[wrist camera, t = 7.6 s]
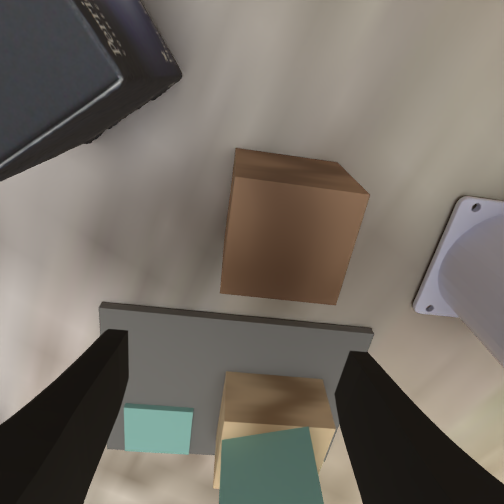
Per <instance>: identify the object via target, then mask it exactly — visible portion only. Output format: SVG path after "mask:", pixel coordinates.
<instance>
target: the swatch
mask: <svg viewBox="0 0 504 504" xmlns="http://www.w3.org/2000/svg"><path fill="white" fill-rule="evenodd" d="M193 409H194V408H187V407H173V406H159V405H145V404H131V403H125V406H124V434H125V451H135V452H153V453H170V454H187V455H189V447H190V438H191V428H192V419H193Z"/></svg>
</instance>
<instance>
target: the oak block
mask: <svg viewBox="0 0 504 504" xmlns="http://www.w3.org/2000/svg"><path fill="white" fill-rule="evenodd" d="M307 426H309V431H310V436H311V441H312V446H313V451H314V456H315V461H316V466H317V472H318V474H319V472H320V469H321V466H322V464H323V461H324V459H325V456H326V453H327V451H328V448H329V446H330V443H331V440H332V438H333V435H334V433H335V430H336V427H335V424H334V420H333V416H332V413H331V409H330V405H329V401H328V398H327V394H326V390H325V387H324V383H323V379H314V378H302V377H290V376H277V375H265V374H253V373H241V372H228V371H226V376H225V382H224V389H223V395H222V402H221V408H220V414H219V421H218V427H217V434H216V448H215V464H214V481H213V488H215V489H220V470H221V447H222V440H224V439H230V438H237V437H243V436H250V435H256V434H262V433H269V432H275V431H282V430H288V429H294V428H301V427H307Z"/></svg>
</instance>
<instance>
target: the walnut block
mask: <svg viewBox="0 0 504 504" xmlns="http://www.w3.org/2000/svg"><path fill="white" fill-rule="evenodd" d="M369 197H370V194H369V193H368V192H367V191H366V190H365V189H364V188H363V187H362V186H361V185H360V184H359V183H358V182H357V181H356V180H355V179H354V178H353V177H351V176H350V175H349V174H348V173H347V172H346V171H345V170H344V169H343V168H342V167H341V166H340V165H339V164H338V163H337V162H331V161H324V160H317V159H310V158H303V157H296V156H289V155H282V154H275V153H268V152H261V151H254V150H247V149H240V148H236V150H235V158H234V167H233V175H232V183H231V191H230V199H229V207H228V215H227V223H226V231H225V239H224V250H223V262H222V275H221V287H220V293H222V294H231V295H241V296H251V297H260V298H270V299H280V300H290V301H299V302H309V303H319V304H328V305H336V303H337V300H338V296H339V293H340V290H341V287H342V284H343V280H344V277H345V274H346V271H347V267H348V264H349V261H350V258H351V255H352V251H353V248H354V245H355V242H356V239H357V235H358V232H359V229H360V226H361V223H362V219H363V216H364V213H365V210H366V206H367V203H368V200H369Z"/></svg>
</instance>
